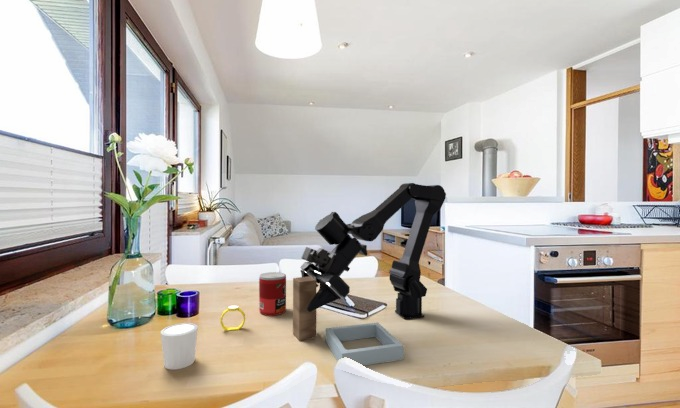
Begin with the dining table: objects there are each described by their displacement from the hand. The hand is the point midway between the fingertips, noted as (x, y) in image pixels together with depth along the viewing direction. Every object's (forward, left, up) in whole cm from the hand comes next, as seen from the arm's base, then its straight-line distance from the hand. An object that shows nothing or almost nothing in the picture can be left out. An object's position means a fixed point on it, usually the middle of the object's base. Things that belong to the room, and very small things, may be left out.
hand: (300, 305), depth 80 cm
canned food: (+5, -20, -8) cm, 22 cm away
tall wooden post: (-1, 0, -8) cm, 8 cm away
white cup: (+26, +6, -8) cm, 28 cm away
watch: (+16, -9, -8) cm, 20 cm away
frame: (-12, +11, -8) cm, 18 cm away
